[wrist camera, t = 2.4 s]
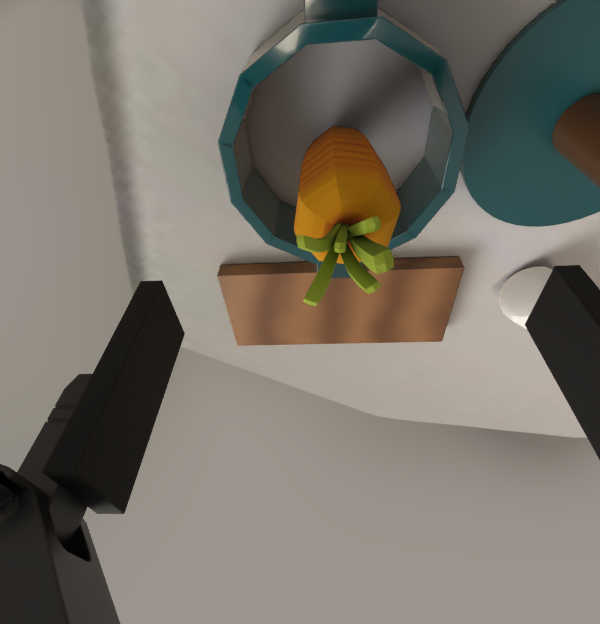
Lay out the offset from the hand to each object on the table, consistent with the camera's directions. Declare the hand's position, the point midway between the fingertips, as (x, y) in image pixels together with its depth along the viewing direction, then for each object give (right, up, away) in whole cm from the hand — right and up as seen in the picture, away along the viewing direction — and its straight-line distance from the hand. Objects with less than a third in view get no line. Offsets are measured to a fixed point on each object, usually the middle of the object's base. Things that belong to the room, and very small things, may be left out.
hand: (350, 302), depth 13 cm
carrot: (+1, +11, +11) cm, 16 cm away
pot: (+1, +11, +11) cm, 16 cm away
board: (+2, +1, +21) cm, 21 cm away
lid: (+16, +11, +10) cm, 22 cm away
